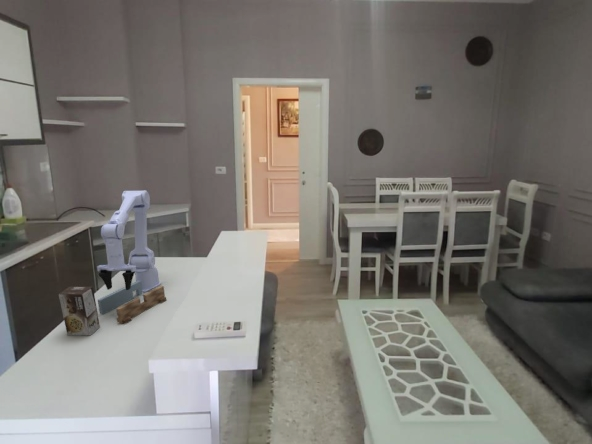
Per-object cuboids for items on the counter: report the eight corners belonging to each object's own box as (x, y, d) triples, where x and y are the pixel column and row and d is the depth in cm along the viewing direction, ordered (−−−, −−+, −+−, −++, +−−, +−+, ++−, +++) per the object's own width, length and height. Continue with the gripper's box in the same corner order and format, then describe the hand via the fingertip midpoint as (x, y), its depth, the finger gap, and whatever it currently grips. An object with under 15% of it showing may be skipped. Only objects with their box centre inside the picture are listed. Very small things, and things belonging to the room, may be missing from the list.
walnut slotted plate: (160, 298, 163) (158, 285, 162) (167, 299, 162) (165, 286, 160) (116, 322, 144) (114, 308, 143) (123, 324, 143) (121, 310, 141)
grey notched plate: (102, 314, 151) (100, 300, 149) (99, 313, 151) (97, 299, 150) (142, 293, 168) (141, 281, 166) (140, 293, 169) (138, 280, 167)
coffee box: (100, 326, 142) (94, 286, 138) (90, 336, 136) (82, 294, 132) (77, 325, 143) (70, 285, 139) (66, 335, 137) (57, 293, 132)
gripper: (90, 257, 143) (94, 292, 145) (127, 258, 141) (131, 293, 144) (102, 252, 150) (105, 285, 152) (137, 252, 148) (140, 286, 151)
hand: (119, 288), depth 148 cm, fingers open, 7 cm apart
